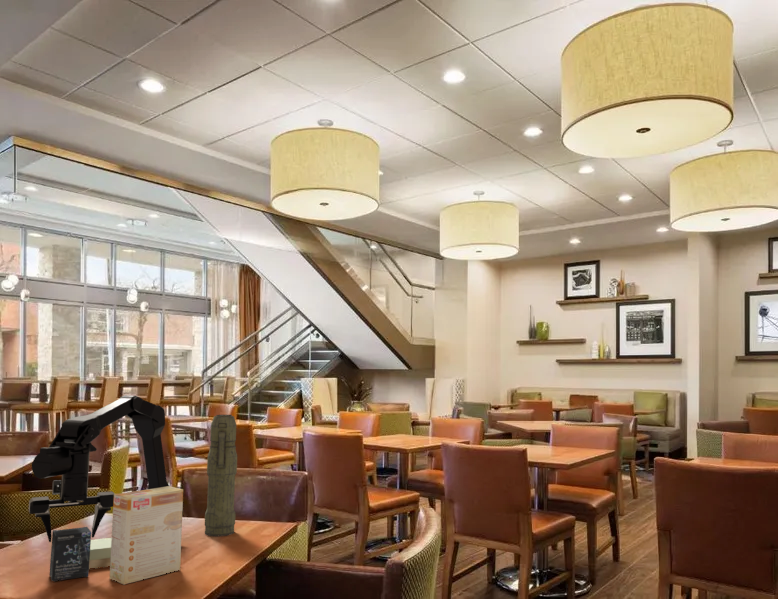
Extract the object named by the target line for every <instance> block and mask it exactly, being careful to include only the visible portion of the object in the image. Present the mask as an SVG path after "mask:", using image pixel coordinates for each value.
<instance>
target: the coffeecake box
mask: <svg viewBox="0 0 778 599" xmlns="http://www.w3.org/2000/svg"><path fill="white" fill-rule="evenodd" d="M183 502H184V489H183V488H179V487H174V486H170V485H169V486H167V487H160V488H154V489H148V488H146V489H142V490H135V491H129V492H123V493H114V500H113V507H112V522H111V523H112V525H111V538H112V540H111V561H110V567H109V580H111V579H112V580H111V581H113V580H115V581H114V582H116V581H117V583H119V584H122V585H123V586H124V585H127V584H132V583H136V582H139V581H143V579H144V580H147V579H150V578H155V577H158V576H162V575H165V574H166V573H167V574H170V572H171V573H173V572H174V571H175V572H177V571H178V570H179V571H181V559H182V558H181V557H182V556H181V555H182V532H183V529H182V528H183V515H182V511H183V508H184V507H183V506H184V505H183V504H184V503H183ZM167 574H166V575H167Z"/></svg>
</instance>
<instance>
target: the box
mask: <svg viewBox="0 0 778 599" xmlns="http://www.w3.org/2000/svg"><path fill="white" fill-rule="evenodd" d="M51 535H52V537H51V546H50V547H51V549H50V560H49V561H50V562H49V577H51V578H50V579H51V582H52V581H54V582H57V581H58V580H59V581H64V580H65V581H66V580H71V579H72V580H73V579H78V578H80V579H81V578H88V577H89V575H90V574H89V573H90V569H89V559H90V544H91V540H92V530H90V529H89V527H88V526H83V527H73V528H66V529H65V528H64V529H54V530H52V532H51Z"/></svg>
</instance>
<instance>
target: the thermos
mask: <svg viewBox="0 0 778 599" xmlns="http://www.w3.org/2000/svg"><path fill="white" fill-rule="evenodd" d="M236 439H237V422H236V419H235V416H234V415H232V414H216V415H214V416H213V418H212V421H211V423H210V440H209V441H210V445H209V452H208V453H207V461H206V463H207V464H206V473H207V477H208V478H207V484H208V485H207V500H206V501H207V504H206V505H207V506H206V511H205V513H204V535H205V536H209V537H227V536H230V535H233V534H234V533H235V524H236V511H235V486H236V485H235V484H236V483H235V482H236V474H237V472H238V454H237V450H236V448H237V447H236Z"/></svg>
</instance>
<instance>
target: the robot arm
mask: <svg viewBox="0 0 778 599" xmlns="http://www.w3.org/2000/svg"><path fill="white" fill-rule="evenodd" d="M124 417H127V418H129V419H130V420H132V423H133V428H134V430H135V432H136V433H137V434H138V435H139V437H140V438H141V441H142V448H143V455H144V463H145V470H146V471H145V472H146V477H147V478H146V479H147V485H148V486H147V489H154V488H160V487H167V486H170V485H169V484H168V480H167V473H166V467H165V466H166V465H165V459H164V457H165V456H164V451H163V450H164V449H163V443H162V442H163V441H162V433H163V431H164V428H165V426H166V412H165V409H164V407H162V406H161V405H158V404H155V403H153V402H150V401H148V400H144V399H143V398H142V397H140V396H137V395H130V394H129V395H127V394H126V395H122V396H120V397H119V398H118V399H117V400H115V401H113V402H111V403H109V404H107V405H105V406H103V407H101V408H99V409H97V410H95V411H94V412H92V413H89V414H86V415H79V416H75V417H72V418H68V419H66V420H64V421H63V422H62V423H61V427H59V430H58V431H57V433H56V435H55V436H54V438H53V440H52V442H51V443H50V445H49V447H47V446H46V447H40V448H39V452H38V453H37V454H36V456H35V457H34V459H33V461H32V462H31V470H32V473H33V475H34V477H35V478H37V479H41V480H42V479H47V478H51V477H52V478H53V477H57V476H58V477H59V476H61V479H59V480H57V479H55V480H53V481H52V490H51V491H52V493H51V494H52V495H53V496H54V495H59V498H57V499H56V498H55V499H50V498H49V496H36V497H31V498H30V499H29V501H28V513H29V514H30V515H34V514H35V515H34V516H35V517H36V518H40V519H41V522H42V523H43V525H44V528H45V533H46V536H47V539H48V543H52V526H51V525H52V524H51V523H52V522H51V513H50V509H56V508H66V507H67V508H68V507H79V506H89V505H90V506H91V505H94V515H93V520H92V521H93V522H92V527H91V539H93V538H94V537H95V535H96V534H97V531H98V528H99V526H100V523H101V522H102V520H103V518H104V517H105V515H106V513H107V512H109V511H111V510H112V508H113V500H114V494H115V492H113V491H100V492H97V494H96V495H95V496H88V490H89V489H88V488H89V487H88V486H89V467H90V453H92V452H96V451H97V450H98V449H97V448H96V447H95V445H93V444H92V442H93V441H94V440H95V439H97V438H98V437H99V436H100V435H101V431H102V430H103V429H105V428H106V427H108V426H110V425H111V424H113V423H116V422H117V421H118V420H120V419H122V418H124ZM183 515H184V511H183V510H182V516H183Z"/></svg>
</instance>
